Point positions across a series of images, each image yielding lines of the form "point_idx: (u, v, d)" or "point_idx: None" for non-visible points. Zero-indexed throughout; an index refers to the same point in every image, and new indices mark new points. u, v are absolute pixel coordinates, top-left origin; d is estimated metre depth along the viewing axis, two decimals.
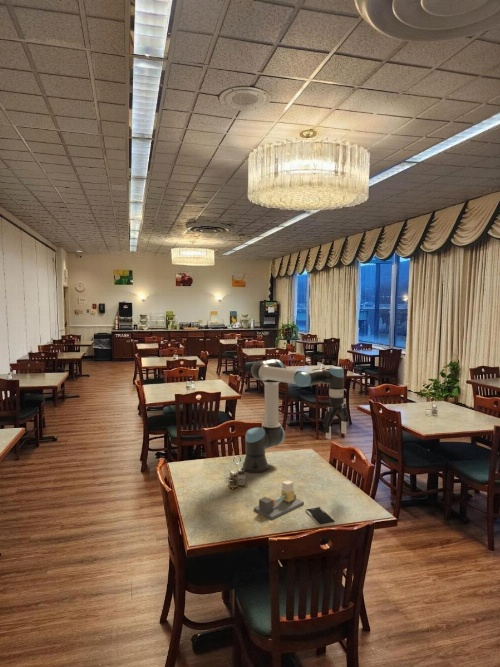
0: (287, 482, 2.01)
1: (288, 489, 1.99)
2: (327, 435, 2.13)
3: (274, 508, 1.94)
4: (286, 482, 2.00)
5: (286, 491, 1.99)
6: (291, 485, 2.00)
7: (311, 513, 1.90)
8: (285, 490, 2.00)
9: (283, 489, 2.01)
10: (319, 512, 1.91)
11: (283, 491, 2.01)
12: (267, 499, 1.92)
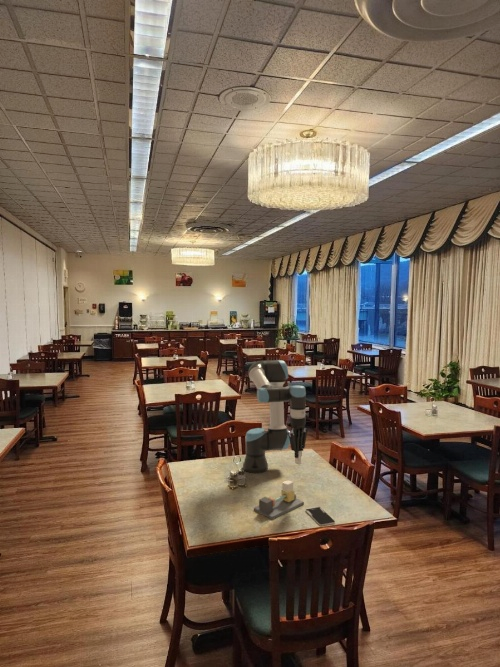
0: (287, 482, 2.01)
1: (288, 489, 1.99)
2: (296, 460, 2.05)
3: (274, 508, 1.94)
4: (286, 482, 2.00)
5: (286, 491, 1.99)
6: (291, 485, 2.00)
7: (311, 513, 1.90)
8: (285, 490, 2.00)
9: (283, 489, 2.01)
10: (319, 512, 1.91)
11: (283, 491, 2.01)
12: (267, 499, 1.92)
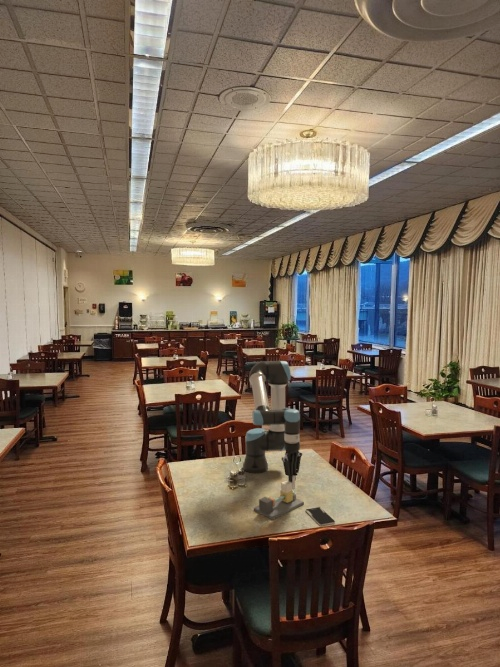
0: (286, 482, 2.00)
1: (287, 489, 1.99)
2: None
3: (274, 508, 1.94)
4: (284, 483, 2.00)
5: (285, 492, 1.99)
6: (290, 485, 2.00)
7: (311, 513, 1.90)
8: (284, 491, 1.99)
9: (282, 490, 2.00)
10: (319, 512, 1.91)
11: (282, 492, 2.00)
12: (267, 499, 1.92)
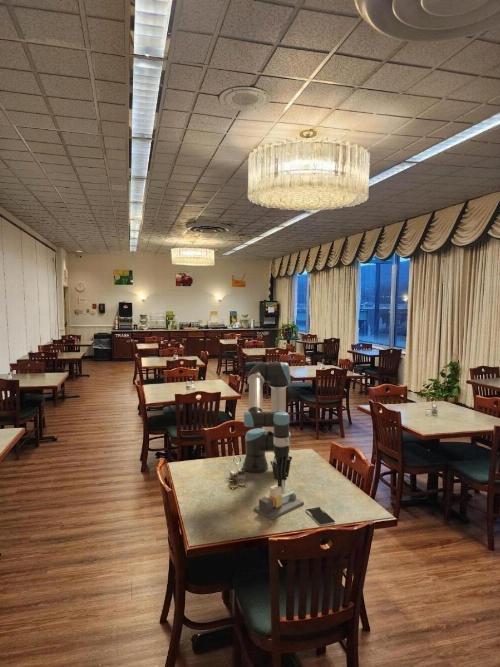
0: (275, 487, 1.95)
1: (276, 494, 1.94)
2: None
3: (274, 508, 1.94)
4: (273, 488, 1.95)
5: (274, 496, 1.94)
6: (279, 490, 1.95)
7: (311, 513, 1.90)
8: (273, 495, 1.94)
9: (271, 494, 1.95)
10: (319, 512, 1.91)
11: (271, 496, 1.95)
12: (267, 499, 1.92)
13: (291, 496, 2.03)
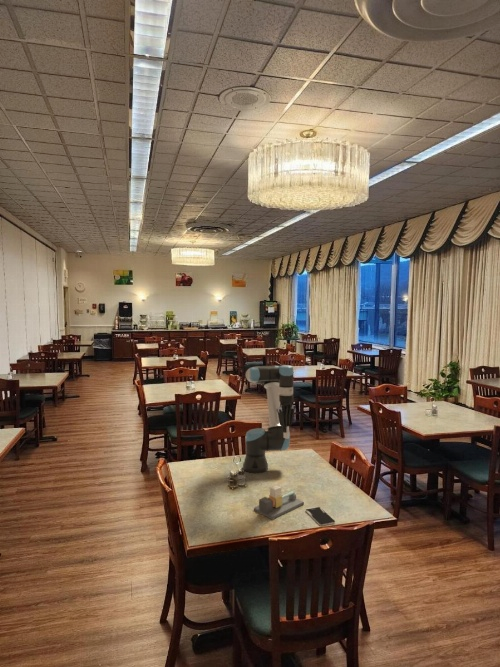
0: (275, 487, 1.95)
1: (276, 494, 1.94)
2: (284, 435, 2.20)
3: (274, 508, 1.94)
4: (273, 488, 1.95)
5: (274, 496, 1.94)
6: (279, 490, 1.95)
7: (311, 513, 1.90)
8: (273, 495, 1.94)
9: (271, 494, 1.95)
10: (319, 512, 1.91)
11: (271, 496, 1.95)
12: (267, 499, 1.92)
13: (291, 496, 2.03)
